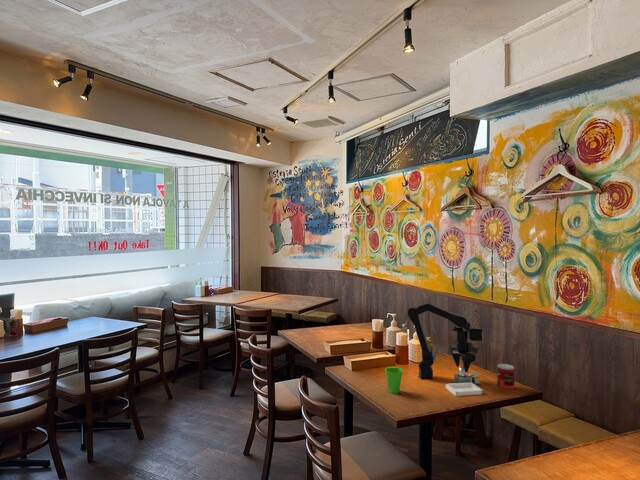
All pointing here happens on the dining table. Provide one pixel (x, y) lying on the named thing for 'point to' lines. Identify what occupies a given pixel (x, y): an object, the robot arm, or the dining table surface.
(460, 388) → the tray
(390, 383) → the cup
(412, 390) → the dining table surface
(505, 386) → the canned food
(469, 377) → the plate
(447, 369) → the dining table surface
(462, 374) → the pin
